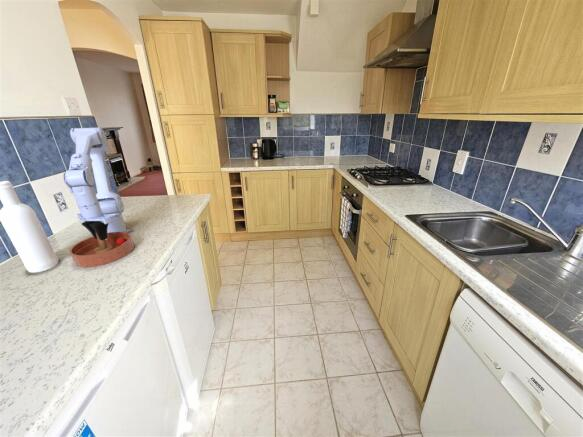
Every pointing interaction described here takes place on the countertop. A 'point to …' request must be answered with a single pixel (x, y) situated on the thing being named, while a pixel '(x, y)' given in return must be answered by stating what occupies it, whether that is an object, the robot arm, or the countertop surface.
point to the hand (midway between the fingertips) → (101, 238)
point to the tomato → (120, 241)
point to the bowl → (88, 258)
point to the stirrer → (102, 246)
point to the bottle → (25, 231)
